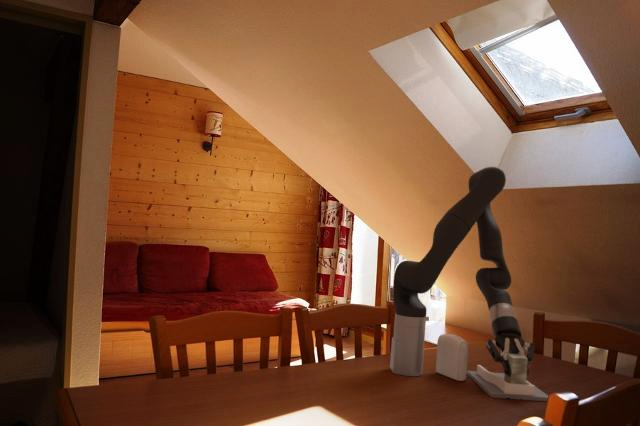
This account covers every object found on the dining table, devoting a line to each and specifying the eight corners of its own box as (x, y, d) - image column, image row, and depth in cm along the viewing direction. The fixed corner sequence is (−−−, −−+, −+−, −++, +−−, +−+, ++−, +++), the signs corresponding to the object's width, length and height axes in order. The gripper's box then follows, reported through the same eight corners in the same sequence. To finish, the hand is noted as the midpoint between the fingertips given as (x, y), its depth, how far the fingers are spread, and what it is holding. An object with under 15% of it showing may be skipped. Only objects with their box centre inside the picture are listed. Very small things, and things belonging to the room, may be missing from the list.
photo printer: (433, 372, 161) (436, 331, 161) (443, 371, 163) (446, 331, 163) (457, 382, 152) (460, 339, 152) (468, 380, 154) (471, 338, 154)
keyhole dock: (490, 397, 139) (491, 384, 139) (466, 373, 161) (467, 362, 161) (550, 401, 140) (551, 388, 140) (518, 377, 162) (518, 366, 162)
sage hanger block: (510, 391, 141) (512, 357, 142) (503, 385, 146) (506, 353, 147) (525, 392, 142) (527, 358, 142) (518, 386, 147) (520, 354, 147)
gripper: (483, 313, 152) (495, 366, 140) (532, 316, 152) (548, 370, 140) (476, 327, 157) (487, 380, 145) (524, 331, 158) (538, 384, 145)
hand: (517, 375), depth 143 cm, fingers closed on sage hanger block, 3 cm apart
